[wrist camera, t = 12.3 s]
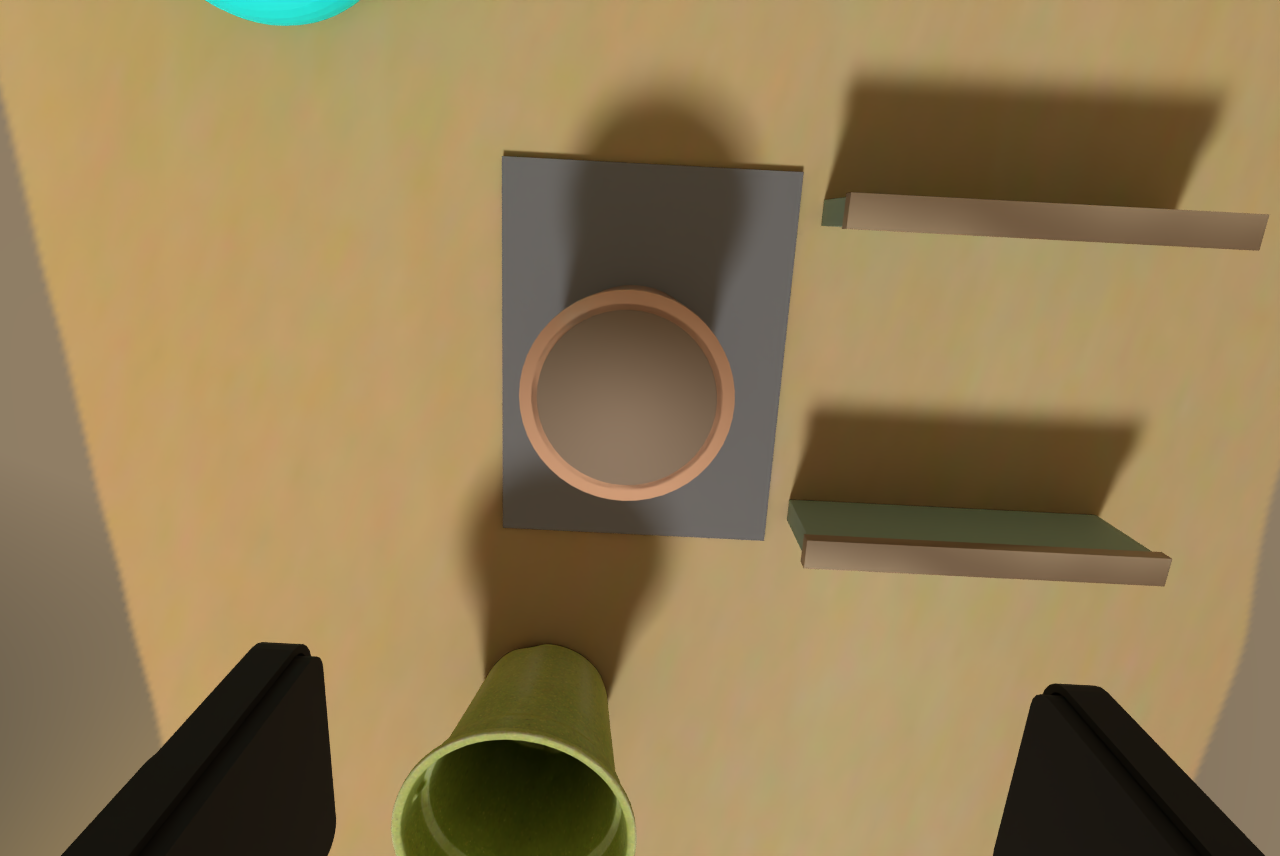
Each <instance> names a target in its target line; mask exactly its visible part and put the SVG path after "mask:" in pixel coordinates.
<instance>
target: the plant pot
mask: <svg viewBox="0 0 1280 856" xmlns="http://www.w3.org/2000/svg"><path fill="white" fill-rule="evenodd" d="M391 832H392V841H393V846H394V849H395V853H396V856H635V850H636V826H635V818H634V814H633V810H632V807H631V804H630V801H629V799H628V797H627V795H626V792H625V791H624V789H623V787H622V786H621V784H620V781H619V779H618V776H617V774H616V772H615V765H614V756H613V748H612V739H611V731H610V721H609V711H608V701H607V694H606V690H605V687H604V684H603V681H602V679H601V676H600V674H599V673H598V671H597V670H596V668H595V667H594V666H593V665H592V664H591V663H590V662H589V661H588V660H587V659H585V658H584V657H583V656H581V655H580V654H578V653H576V652H574V651H572V650H570V649H567V648H564V647H562V646H558V645H551V644H543V645H540V646H535V647H530V648H524V649H516V650H514V651H512V652H510V653H508V654H506V655H505V656H504V657H502V658H501V659H500V660H499V661H498V662H497V663H496V664H495V665H494V667H493V668H492V669H491V671H490V672H489V674H488V676H487V677H486V679H485V681H484V682H483V684H482V685H481V687H480V689H479V690H478V692H477V694H476V695H475V697H474V699H473V700H472V702H471V704H470V705H469V707H468V708H467V710H466V712H465V713H464V715H463V717H462V718H461V720H460V721H459V723H458V725H457V726H456V728H455V729H454V731H453V732H452V734H451V736H450V737H449V738H448V739H447V740H446V741H445V742H444V743H443V744H442V745H440V746H438V747H437V748H435V749H434V750H432V751H431V752H430V753H429V754H427V755H426V756H425V757H424V758H422V759H421V760H420V761H419V763H418V764H417V765H416V766H415V767H414V768H413V769H412V771H411V772H410V774H409V775H408V776H407V778H406V779H405V781H404V783H403V785H402V787H401V789H400V791H399V793H398V796H397V798H396V801H395V805H394V808H393V814H392V824H391Z"/></svg>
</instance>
